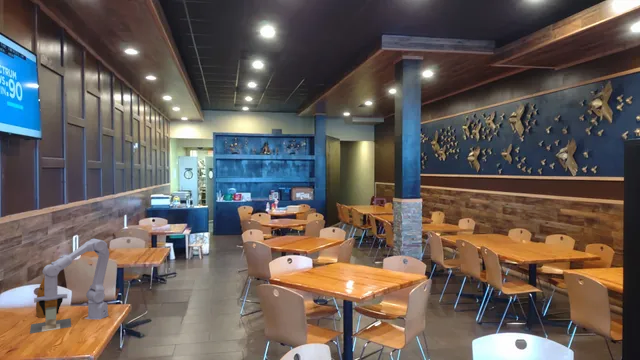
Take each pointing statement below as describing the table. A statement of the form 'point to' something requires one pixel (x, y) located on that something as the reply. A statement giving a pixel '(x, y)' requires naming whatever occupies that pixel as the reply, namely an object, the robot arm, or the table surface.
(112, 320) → the table surface
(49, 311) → the sage block
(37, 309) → the coffee package
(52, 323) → the walnut block
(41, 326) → the board
